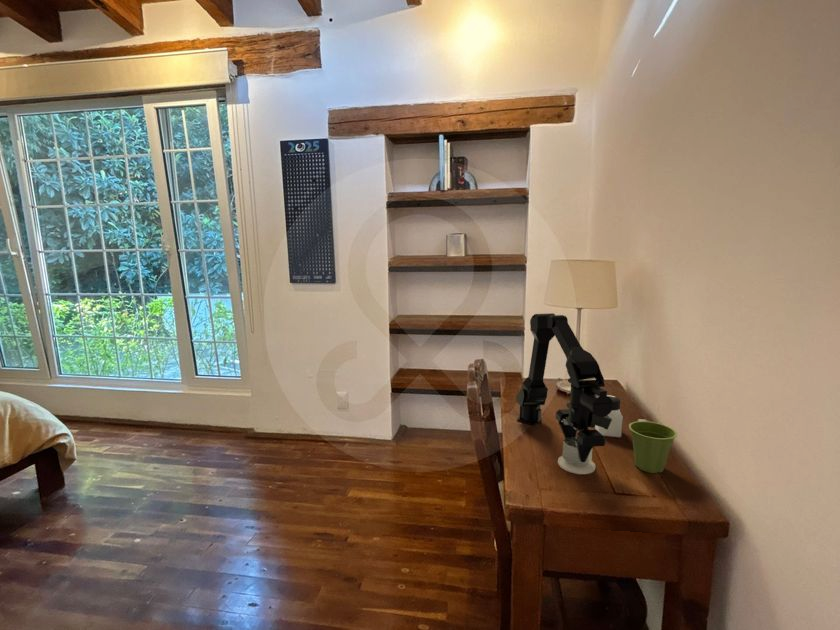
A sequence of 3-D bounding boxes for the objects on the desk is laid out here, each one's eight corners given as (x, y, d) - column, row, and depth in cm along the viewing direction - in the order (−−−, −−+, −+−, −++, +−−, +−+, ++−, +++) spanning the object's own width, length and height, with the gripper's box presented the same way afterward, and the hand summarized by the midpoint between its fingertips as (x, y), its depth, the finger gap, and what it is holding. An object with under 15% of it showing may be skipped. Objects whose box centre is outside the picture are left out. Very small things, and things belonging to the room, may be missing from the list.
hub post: (552, 466, 125) (553, 451, 124) (565, 453, 133) (566, 438, 132) (588, 478, 119) (589, 462, 118) (600, 463, 127) (601, 448, 126)
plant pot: (665, 459, 129) (669, 422, 127) (678, 480, 118) (683, 441, 116) (621, 454, 132) (624, 418, 130) (630, 475, 121) (634, 436, 119)
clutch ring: (569, 466, 122) (571, 449, 121) (559, 453, 129) (560, 437, 128) (595, 464, 123) (596, 448, 122) (583, 452, 130) (584, 436, 129)
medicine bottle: (621, 437, 143) (624, 402, 141) (598, 435, 145) (600, 400, 142) (616, 428, 150) (619, 394, 148) (594, 426, 151) (596, 392, 149)
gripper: (627, 415, 114) (622, 471, 117) (592, 390, 133) (588, 439, 135) (585, 416, 113) (581, 473, 116) (556, 391, 132) (553, 440, 134)
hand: (576, 455), depth 125 cm, fingers closed on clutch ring, 7 cm apart
